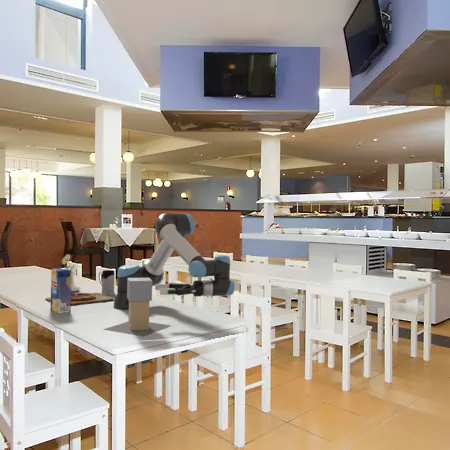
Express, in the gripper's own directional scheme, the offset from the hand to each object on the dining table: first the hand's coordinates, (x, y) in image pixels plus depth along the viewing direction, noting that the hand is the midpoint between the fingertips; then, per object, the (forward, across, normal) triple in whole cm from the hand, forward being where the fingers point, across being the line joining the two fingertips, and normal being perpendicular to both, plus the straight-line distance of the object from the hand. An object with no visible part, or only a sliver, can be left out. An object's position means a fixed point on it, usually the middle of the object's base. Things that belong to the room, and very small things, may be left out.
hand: (157, 289), depth 200 cm
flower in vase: (+40, +107, -18) cm, 115 cm away
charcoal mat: (+8, 0, -18) cm, 20 cm away
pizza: (+33, +75, -19) cm, 84 cm away
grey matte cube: (+8, 0, -4) cm, 9 cm away
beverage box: (+43, +46, -18) cm, 66 cm away
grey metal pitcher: (+18, +96, -18) cm, 100 cm away
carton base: (+8, 0, -17) cm, 19 cm away
